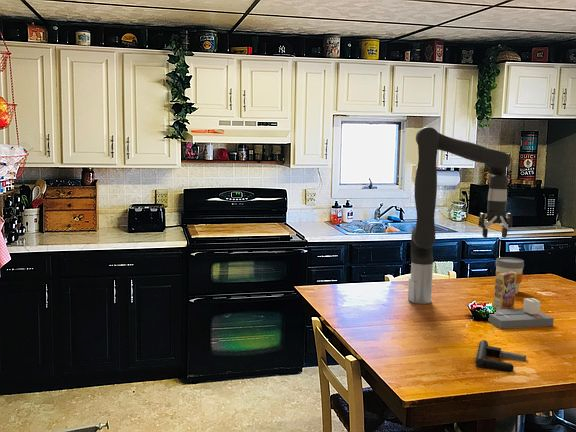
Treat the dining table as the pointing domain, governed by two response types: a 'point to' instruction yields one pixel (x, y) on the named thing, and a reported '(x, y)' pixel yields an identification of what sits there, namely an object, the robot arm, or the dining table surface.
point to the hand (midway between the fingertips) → (494, 237)
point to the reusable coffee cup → (511, 268)
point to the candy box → (504, 290)
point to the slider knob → (531, 306)
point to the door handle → (496, 352)
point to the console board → (519, 319)
